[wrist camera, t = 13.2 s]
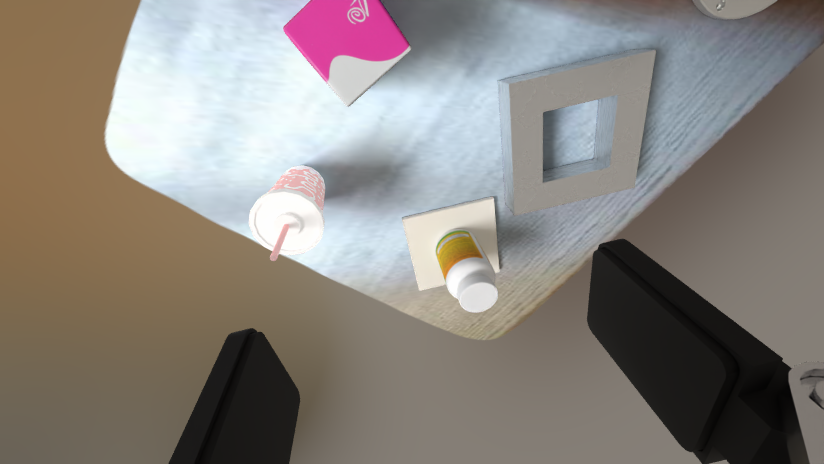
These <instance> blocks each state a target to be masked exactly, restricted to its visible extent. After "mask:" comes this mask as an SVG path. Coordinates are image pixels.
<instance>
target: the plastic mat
mask: <svg viewBox="0 0 824 464" xmlns="http://www.w3.org/2000/svg"><path fill="white" fill-rule="evenodd" d="M402 221H403V226H404V230H405V234H406V238H407V242H408V246H409V250H410V254H411V259H412V263H413V267H414V271H415V275H416V279H417V283H418V288H419V291H421V290H425V289H429V288H433V287H438V286H442V285H446V282H445V279H444V276H443V274H442V271H441V268H440V265H439V262H438V259H437V256H436V252H435V248H436V244H437V242H438V240H439V239H440V237H441V236H442V235H444V234H445V233H446V232H448V231H451V230H454V229H464V230H467V231H469V232H471V233H472V234H473V235H474V236H475V237H476V239H477V240H478V242H479V244H480V245H481V247H482V249H483V251H484V253H485V254H486V256H487V258H488V260H489V261H490V263H491V265H492V267H493V269H494V271H495V273H497V272H499V259H498V246H497V234H496V221H495V208H494V198H493V197H487V198H483V199H479V200H475V201H470V202H466V203H462V204H458V205H453V206H449V207H445V208H440V209H436V210H432V211H428V212H423V213H419V214H415V215H411V216H406V217H402Z"/></svg>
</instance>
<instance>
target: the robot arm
mask: <svg viewBox="0 0 824 464" xmlns="http://www.w3.org/2000/svg"><path fill="white" fill-rule="evenodd" d="M692 1H693V2H694V4H695V6H696V7H697V8H698V9H699V10H700V11H701V12H702V13H703V14H705V15H707V16H709V17H711V18H713V19H721V20H729V19H740V18H744V17H748V16H751V15H753V14H756V13H758V12H760V11H762V10H764V9H765V8H767V7H769V6H770V5H772V4H773V3H775V2H776V1H777V0H692ZM587 322H588V326H589V328H590V330H591V331H592V333H593V334H594V335H595V337H596V338H597V339H598V340H599V342H600V343H601V344H602V345H603V347H604V348H605V349H606V350H607V352H608V353H609V355H610V356H611V357H612V358H613V360H614V361H615V362H616V364H617V365H618V366H619V367H620V369H621V370H622V371H623V372H624V374H625V375H626V376H627V377H628V379H629V380H630V381H631V383H632V384H633V385H634V387H635V388H636V389H637V390H638V392H639V393H640V394H641V396H642V397H643V398H644V399H645V400H646V402H647V403H648V404H649V406H650V407H651V408H652V410H653V411H654V412H655V413H656V415H657V416H658V417H659V419H660V420H661V421H662V422H663V424H664V425H665V426H666V427H667V429H668V430H669V431H670V433H671V434H672V435H673V436H674V438H675V439H676V440H677V441H678V443H679V444H680V445H681V446H682V447H683V448H684V449H685V450H687V451H689V452H693V453H694V454H695V455H696V456H697V458H698V459H699V460H700V461H701V463H702V464H709V463H713V462H717V461H722V460H727V461H728V462H729V463H730V464H824V363H823V362H804V363H801V364H798V365H795V366H794V367H793V368H790V367H789V366H788V365H786V364H785V363H784V362H782V360H783V358H782V357H780V356H779V355H777V354H776V353H775V352H774V351H772V350H771V349H770V348H768V347H767V346H766V345H765V344H763V343H762V342H761V341H759V340H758V339H757V338H755V337H754V336H753V335H751V334H750V333H749V332H747V331H746V330H745V329H743V328H742V327H741V326H739V325H738V324H737V323H736V322H734V321H733V320H732V319H730V318H729V317H728V316H726V315H725V314H724V313H722V312H721V311H720V310H718V309H717V308H716V307H714V306H713V305H712V304H710V303H709V302H708V301H706V300H705V299H704V298H702V297H701V296H700V295H699V294H697V293H696V292H695V291H693V290H692V289H691V288H689V287H688V286H687V285H685V284H684V283H683V282H681V281H680V280H679V279H677V278H676V277H675V276H673V275H672V274H671V273H670V272H668V271H667V270H666V269H664V268H663V267H662V266H660V265H659V264H658V263H656V262H655V261H654V260H652V259H651V258H650V257H648V256H647V255H646V254H644V253H643V252H642V251H640V250H639V249H638V248H637V247H635V246H634V245H633V244H631V243H630V242H628V241H627V240H625V239H618V240H614V241H610V242H606V243H602V244H600V245H599V247H598V250H596V251H594V253H593V262H592V273H591V283H590V293H589V305H588V316H587ZM299 404H300V395H299V391H298V389H297V387H296V386H295V384H294V382H293V381H292V379H291V377H290V376H289V374H288V372H287V371H286V370H285V368H284V366H283V365H282V363H281V361H280V360H279V358H278V356H277V355H276V353H275V351H274V350H273V348H272V347H271V345H270V343H269V342H268V340H267V339H266V337H265V335H264V334H263V333H262V332H257V331H256V330H255V329H253V328H250V329H246V330H242V331H238V332H234V333H231V334H229V335H228V337H227V339H226V340H225V343H224V345H223V347H222V349H221V351H220V353H219V356H218V358H217V360H216V362H215V364H214V367H213V369H212V371H211V373H210V375H209V377H208V380H207V382H206V384H205V386H204V388H203V390H202V392H201V395H200V397H199V399H198V401H197V403H196V405H195V407H194V410H193V412H192V414H191V416H190V418H189V420H188V423H187V425H186V427H185V429H184V431H183V434H182V436H181V438H180V440H179V442H178V444H177V447H176V449H175V451H174V453H173V455H172V457H171V459H170V462H169V464H289V461H290V455H291V449H292V444H293V438H294V433H295V427H296V421H297V416H298V409H299Z"/></svg>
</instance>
